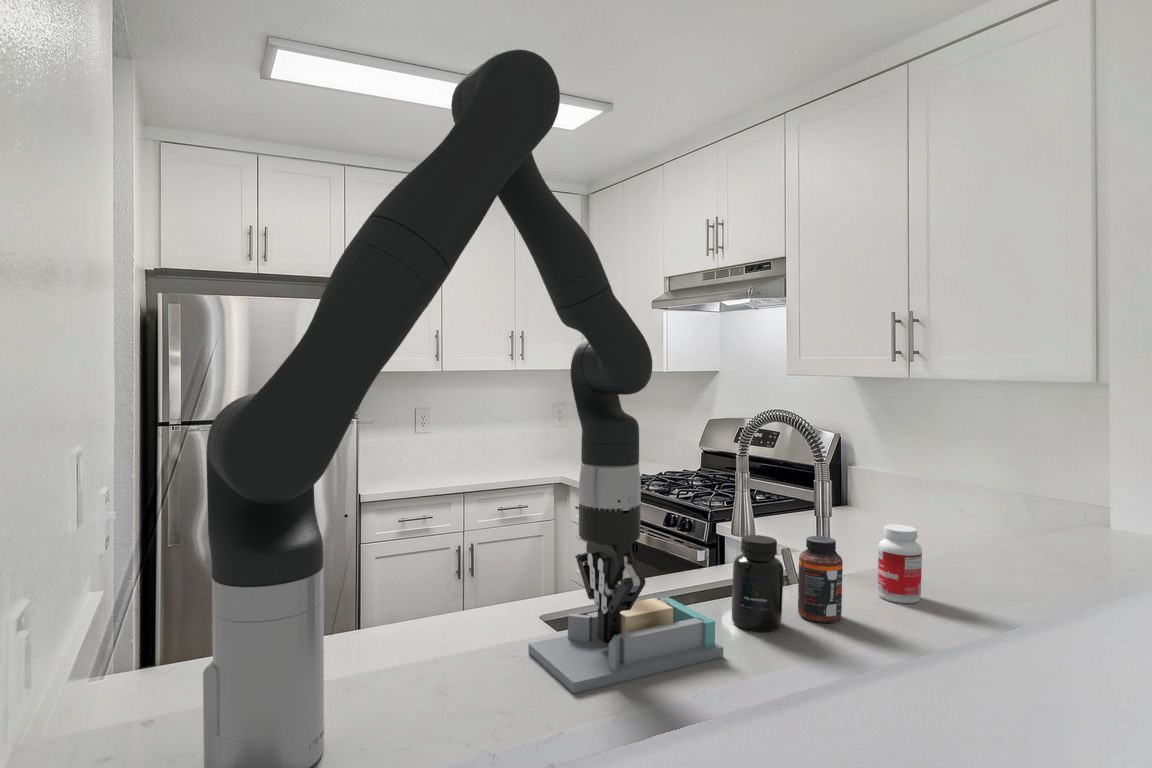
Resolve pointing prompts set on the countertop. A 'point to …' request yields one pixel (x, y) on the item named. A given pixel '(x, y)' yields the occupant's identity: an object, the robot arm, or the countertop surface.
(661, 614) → the beech block
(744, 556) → the supplement bottle
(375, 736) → the countertop surface
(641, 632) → the guide board
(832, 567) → the supplement bottle
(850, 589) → the countertop surface
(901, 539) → the pill bottle
